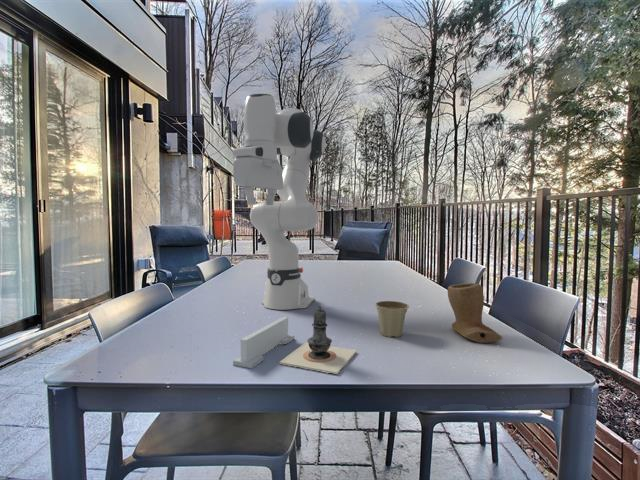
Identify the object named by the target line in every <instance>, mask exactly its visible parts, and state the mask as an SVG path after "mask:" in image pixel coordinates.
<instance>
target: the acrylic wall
mask: <svg viewBox="0 0 640 480" xmlns="http://www.w3.org/2000/svg"><path fill="white" fill-rule="evenodd" d="M293 339H294V340H295V335H294V334H289V317H287V316H282V317H280V318H278V319H276V320H274V321H273V322H270V323H269V324H267V325H265V326H263V327H261V328H259V329H258V330H255V331H253V332H251V333H250V334H248V335H246V336H244V337H242V338H240V356H239V357H237V358H234V359H233V360H232V365H233V366H236V367H242V368H248V369H252V370H253V368H255V367H256V366H257V364H258V365H259V364H260V362H261V361H262V362H264V359H265V358H264V355H266V354H267V353H269V352H270V351H272V350H274V349H275V348H276V347H278V346H279V345H282V344H287V343H288V342H290V341H291V342H292V340H293ZM294 340H293V341H294ZM291 342H290V343H291ZM280 343H281V344H280ZM278 344H279V345H278ZM288 344H289V343H288ZM288 344H287V345H288ZM277 345H278V346H277ZM275 346H276V347H275ZM274 347H275V348H274ZM271 349H272V350H271ZM269 350H270V351H269ZM268 351H269V352H268ZM266 352H267V353H266ZM265 353H266V354H265ZM263 354H264V355H263ZM262 355H263V356H262ZM262 362H261V363H262Z"/></svg>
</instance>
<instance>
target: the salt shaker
mask: <svg viewBox="0 0 640 480" xmlns="http://www.w3.org/2000/svg"><path fill="white" fill-rule="evenodd" d="M311 325H312V331H313V332H312V336H311V337H309V338H307V340H306V342H307V343H309V347H310V349H311V350H312V351H311V352H310V353H309V354H308V356H309V357H310V358H312V359H318V360H321V359H327V358H329V357H330V353H329V352H327V350H328V349H329V348H330V346H331V344H332V342H333V340H332V338H331V337H328V336H327V327H328V324H327V313H326V311H325V309H323V308H322V306H321V305H319V306H318V309H316V310H315V311H314V312H313V323H312V324H311Z"/></svg>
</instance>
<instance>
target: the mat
mask: <svg viewBox="0 0 640 480" xmlns="http://www.w3.org/2000/svg"><path fill="white" fill-rule="evenodd" d="M311 351H312V350H311V349H310V347H309V343H308V342H307V341H305V342H304V343H303V344H301V345H300V346H298V347H297V348H296V349H294V350H293V351H292V352H291V353H289V354H288V355H287V356H285V357H284V358H283V359H281V360H280V361H279V365H280V364H283V365H282V366H285V365H288V366H287V367H291V366H294V367H293V368H296V367H301V368H307V369H312V370H319V371H325V372H329V373H334V374H338V372H339V371H340V370H341V369H342V368H343V367H344V366H345V365H346V366H347V365H348V363H349V362H350V361H351V360H352V359H353V358H354V357H355V355H356V354H357V350H356V349H349V348H344V347H338V346H331V345H330V348H329V349H328V350H327V352H329V353H330V357H329V358H327V359H321V360H318V359H312V358H310V357H309V356H308V354H309V353H310V352H311ZM355 353H356V354H355ZM354 354H355V355H354ZM351 358H352V359H351ZM350 359H351V360H350ZM349 360H350V361H349ZM346 366H345V367H346ZM345 367H344V368H345ZM301 368H300V369H301ZM344 368H343V369H344ZM343 369H342V370H343ZM312 370H311V371H312ZM342 370H341V371H342ZM341 371H340V372H341ZM338 375H339V374H338Z"/></svg>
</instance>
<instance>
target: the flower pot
mask: <svg viewBox="0 0 640 480" xmlns="http://www.w3.org/2000/svg"><path fill="white" fill-rule="evenodd" d="M409 306H410V305H409V304H407V303H405V302H401V301H396V300H383V301H378V302H375V307H376V309H377V313H378V322H379V325H378V326H379V333H380V335H382V336H385V337H389V338H392V337H396V338H399V337H401V336H402V335H403V330H404V325H405V319H406V314H407V311H408V309H409Z"/></svg>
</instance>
